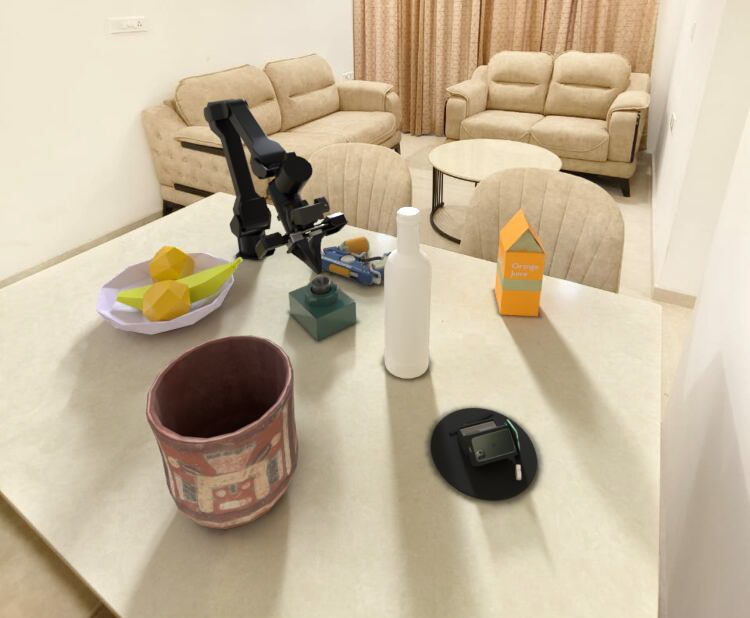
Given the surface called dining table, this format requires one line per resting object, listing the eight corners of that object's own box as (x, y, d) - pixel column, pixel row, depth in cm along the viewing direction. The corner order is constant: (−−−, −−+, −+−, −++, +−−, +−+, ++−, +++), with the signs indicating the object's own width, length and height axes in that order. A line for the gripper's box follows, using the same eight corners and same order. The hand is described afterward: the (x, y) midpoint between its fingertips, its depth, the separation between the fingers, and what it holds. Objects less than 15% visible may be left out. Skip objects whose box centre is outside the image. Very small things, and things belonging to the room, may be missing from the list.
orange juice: (530, 291, 109) (540, 208, 102) (538, 316, 101) (550, 228, 94) (493, 289, 110) (501, 207, 103) (499, 314, 102) (507, 227, 94)
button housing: (290, 312, 103) (287, 284, 101) (327, 297, 108) (325, 269, 106) (317, 341, 95) (315, 310, 92) (356, 322, 100) (355, 293, 97)
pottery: (147, 483, 68) (121, 381, 62) (258, 410, 80) (246, 317, 73) (210, 587, 56) (185, 474, 50) (330, 484, 68) (323, 381, 61)
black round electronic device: (457, 514, 64) (459, 484, 62) (415, 422, 77) (416, 395, 75) (558, 482, 68) (564, 453, 66) (502, 400, 81) (505, 373, 79)
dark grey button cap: (308, 289, 99) (308, 280, 99) (324, 283, 101) (323, 274, 101) (318, 297, 97) (317, 288, 96) (333, 291, 99) (333, 281, 98)
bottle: (426, 382, 85) (431, 224, 74) (380, 376, 86) (379, 220, 75) (430, 351, 92) (436, 202, 81) (388, 345, 93) (388, 199, 82)
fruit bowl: (70, 340, 96) (56, 290, 92) (159, 267, 120) (150, 225, 116) (200, 363, 90) (191, 310, 85) (266, 281, 114) (261, 237, 110)
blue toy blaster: (341, 241, 131) (306, 268, 119) (341, 227, 129) (305, 253, 117) (412, 263, 121) (381, 295, 109) (413, 248, 120) (381, 279, 108)
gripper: (255, 198, 90) (289, 277, 86) (341, 175, 101) (375, 244, 97) (242, 222, 99) (272, 295, 95) (323, 198, 109) (353, 263, 105)
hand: (320, 273), depth 98 cm, fingers closed
